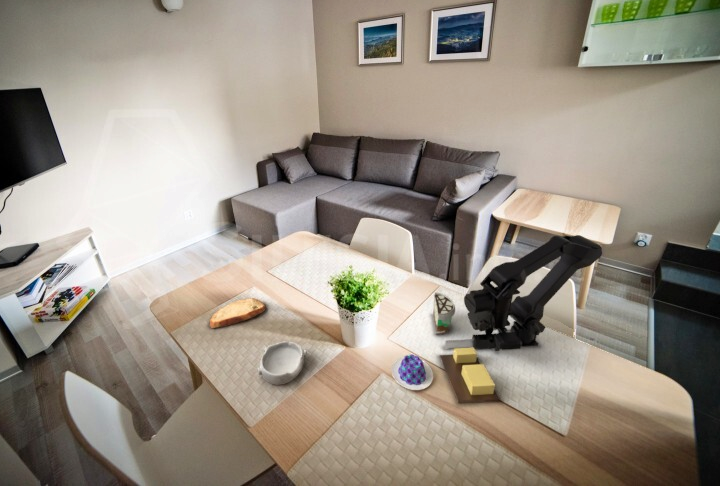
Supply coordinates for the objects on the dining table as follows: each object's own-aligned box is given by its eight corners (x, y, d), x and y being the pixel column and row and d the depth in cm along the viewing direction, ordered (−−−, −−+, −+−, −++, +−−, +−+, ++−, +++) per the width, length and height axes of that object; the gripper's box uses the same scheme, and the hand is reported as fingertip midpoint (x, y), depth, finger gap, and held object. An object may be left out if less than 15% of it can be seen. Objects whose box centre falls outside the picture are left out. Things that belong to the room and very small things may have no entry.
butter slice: (472, 355, 101) (473, 347, 100) (475, 362, 99) (477, 353, 98) (453, 356, 102) (454, 348, 100) (456, 363, 99) (457, 355, 98)
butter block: (481, 372, 96) (483, 364, 94) (493, 394, 89) (495, 385, 88) (461, 373, 96) (462, 365, 95) (471, 395, 90) (472, 386, 88)
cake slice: (455, 339, 109) (458, 316, 105) (436, 338, 110) (438, 314, 106) (450, 314, 120) (452, 292, 116) (432, 313, 121) (434, 291, 117)
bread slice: (205, 326, 124) (203, 318, 123) (233, 297, 139) (231, 290, 138) (245, 337, 118) (243, 329, 116) (269, 305, 133) (268, 298, 131)
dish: (310, 355, 108) (309, 344, 106) (294, 392, 96) (292, 380, 94) (271, 346, 112) (269, 336, 110) (251, 380, 101) (248, 369, 99)
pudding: (383, 366, 101) (384, 354, 99) (415, 352, 105) (416, 340, 103) (408, 398, 91) (408, 385, 89) (441, 381, 95) (443, 368, 93)
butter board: (474, 355, 103) (474, 353, 102) (499, 401, 89) (499, 398, 88) (439, 357, 103) (439, 355, 103) (458, 403, 89) (458, 400, 89)
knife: (508, 341, 106) (510, 332, 105) (512, 347, 104) (514, 338, 103) (443, 345, 107) (444, 336, 106) (446, 351, 105) (447, 341, 103)
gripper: (460, 288, 107) (455, 324, 114) (486, 329, 91) (479, 369, 97) (494, 286, 107) (488, 322, 114) (527, 326, 90) (517, 367, 97)
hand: (492, 343), depth 105 cm, fingers open, 6 cm apart
